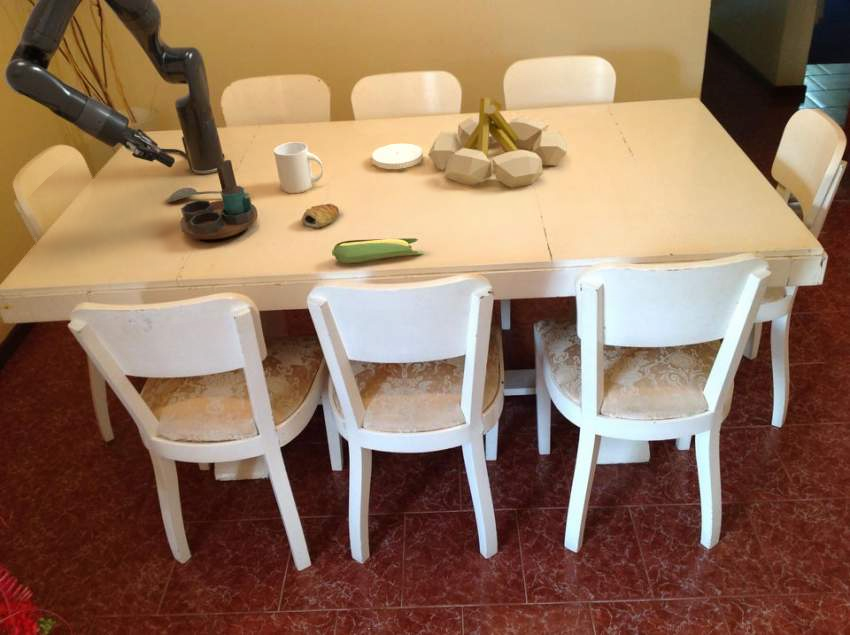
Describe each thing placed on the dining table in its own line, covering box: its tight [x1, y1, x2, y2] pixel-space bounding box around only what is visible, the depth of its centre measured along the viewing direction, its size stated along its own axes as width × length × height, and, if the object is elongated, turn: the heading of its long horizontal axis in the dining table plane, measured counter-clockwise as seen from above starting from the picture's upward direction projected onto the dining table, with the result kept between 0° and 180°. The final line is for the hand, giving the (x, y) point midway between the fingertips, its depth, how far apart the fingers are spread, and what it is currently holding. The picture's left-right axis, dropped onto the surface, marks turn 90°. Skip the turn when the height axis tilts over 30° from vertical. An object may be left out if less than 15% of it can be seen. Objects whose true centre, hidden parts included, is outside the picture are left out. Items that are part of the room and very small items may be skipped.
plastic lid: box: [371, 142, 424, 170], centre depth 201 cm, size 14×14×2 cm
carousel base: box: [197, 228, 249, 244], centre depth 175 cm, size 13×13×2 cm
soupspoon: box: [167, 187, 251, 203], centre depth 190 cm, size 22×3×7 cm
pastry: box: [301, 203, 340, 229], centre depth 175 cm, size 9×7×4 cm
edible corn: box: [331, 237, 426, 264], centre depth 158 cm, size 5×20×5 cm, turn 94°
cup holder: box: [179, 159, 259, 240], centre depth 172 cm, size 19×18×11 cm
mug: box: [273, 141, 324, 194], centre depth 190 cm, size 9×12×11 cm
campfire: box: [427, 97, 568, 189], centre depth 192 cm, size 35×34×17 cm
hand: (172, 163), depth 171 cm, fingers closed
